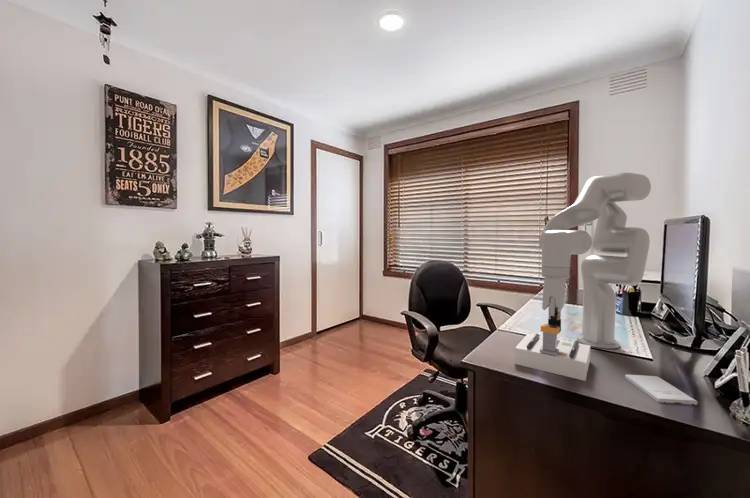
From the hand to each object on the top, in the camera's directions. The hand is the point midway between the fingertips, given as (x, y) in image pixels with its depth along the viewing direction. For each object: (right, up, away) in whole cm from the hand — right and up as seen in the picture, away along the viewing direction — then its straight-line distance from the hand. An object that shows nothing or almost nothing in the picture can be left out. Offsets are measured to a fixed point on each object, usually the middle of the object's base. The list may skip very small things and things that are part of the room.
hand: (554, 331), depth 96 cm
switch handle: (-4, -5, -5) cm, 8 cm away
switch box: (0, -10, 0) cm, 10 cm away
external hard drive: (+17, -11, -16) cm, 26 cm away
